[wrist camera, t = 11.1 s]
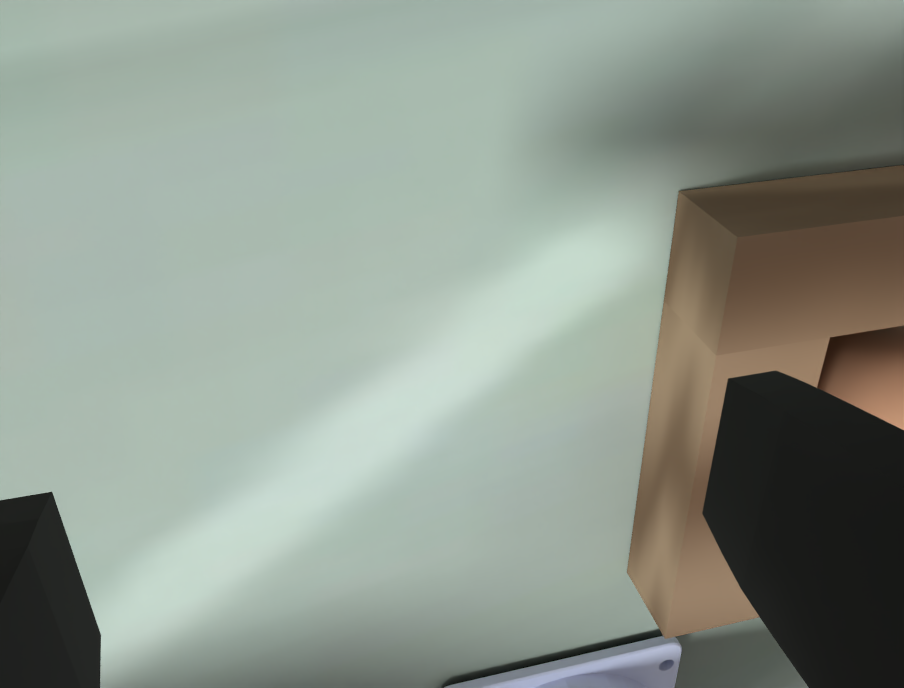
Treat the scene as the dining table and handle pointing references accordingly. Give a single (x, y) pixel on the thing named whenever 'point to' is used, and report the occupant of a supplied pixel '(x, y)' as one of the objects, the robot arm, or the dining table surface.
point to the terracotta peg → (868, 372)
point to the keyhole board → (749, 350)
